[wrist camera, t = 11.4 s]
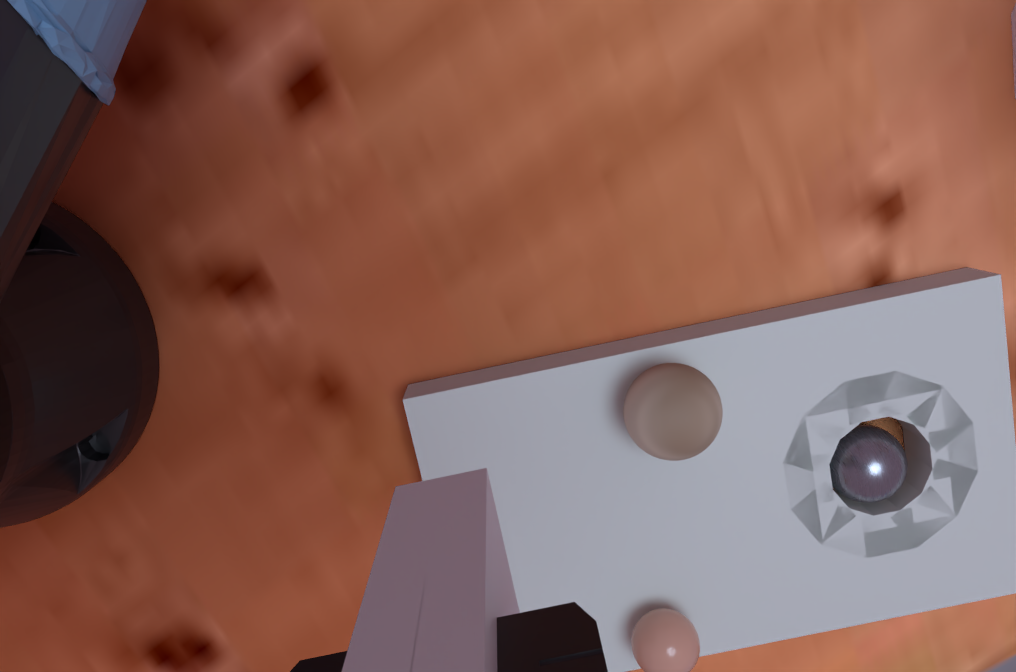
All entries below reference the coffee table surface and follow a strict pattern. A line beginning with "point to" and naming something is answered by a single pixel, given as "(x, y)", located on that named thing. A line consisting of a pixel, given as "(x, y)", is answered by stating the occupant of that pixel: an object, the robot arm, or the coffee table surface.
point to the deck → (752, 468)
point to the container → (1014, 43)
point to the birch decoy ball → (672, 411)
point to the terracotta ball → (665, 642)
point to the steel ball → (868, 465)
